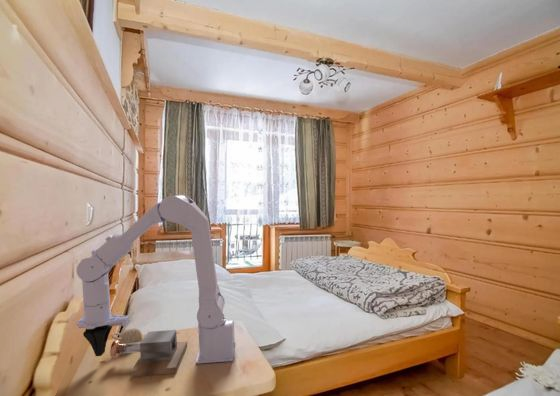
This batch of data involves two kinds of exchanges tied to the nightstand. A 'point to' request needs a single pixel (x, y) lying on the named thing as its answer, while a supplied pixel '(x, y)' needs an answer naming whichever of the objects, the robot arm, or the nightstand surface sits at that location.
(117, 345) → the shaft
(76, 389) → the nightstand surface
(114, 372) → the nightstand surface
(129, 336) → the cream ribbed curved piece
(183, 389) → the nightstand surface
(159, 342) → the housing
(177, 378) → the nightstand surface
